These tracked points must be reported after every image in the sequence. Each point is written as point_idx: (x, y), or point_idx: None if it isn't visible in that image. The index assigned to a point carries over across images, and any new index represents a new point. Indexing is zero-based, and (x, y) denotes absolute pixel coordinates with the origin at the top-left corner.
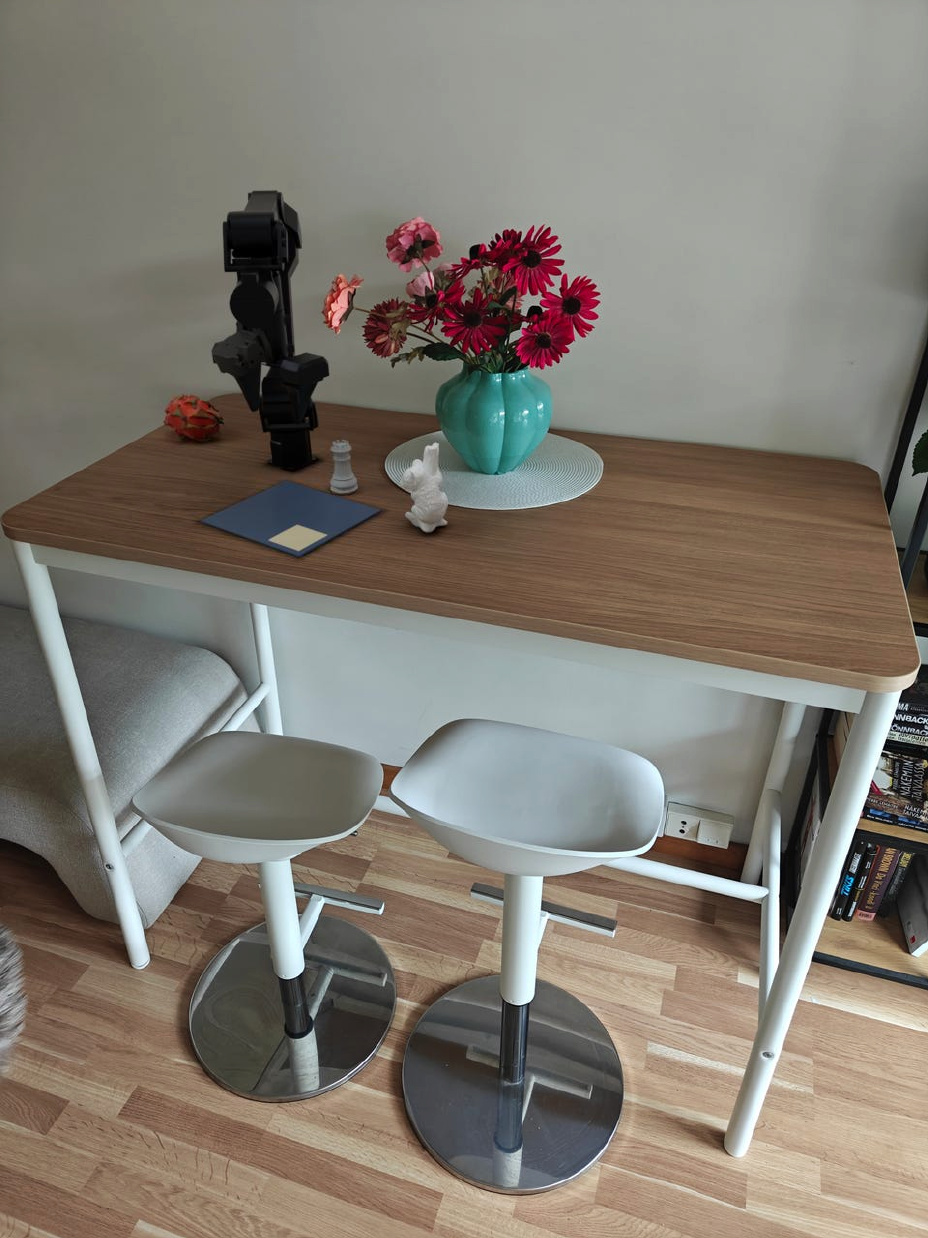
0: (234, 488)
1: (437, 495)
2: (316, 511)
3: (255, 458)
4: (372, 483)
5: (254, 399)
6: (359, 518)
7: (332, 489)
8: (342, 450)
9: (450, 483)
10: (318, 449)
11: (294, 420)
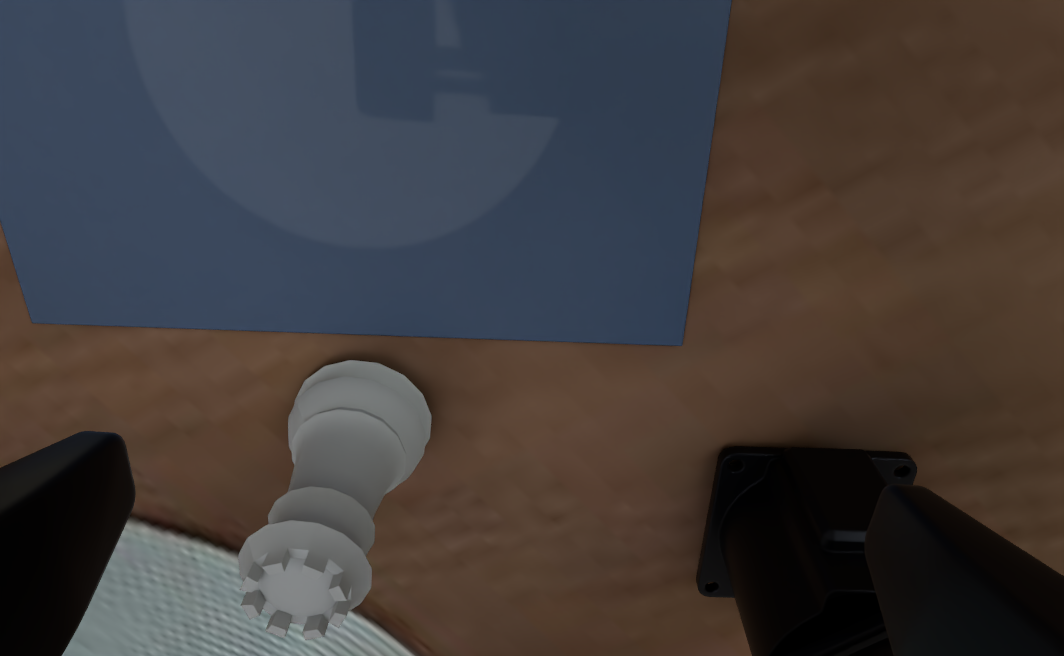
0: (900, 140)
1: None
2: (258, 136)
3: (1007, 471)
4: None
5: (945, 644)
6: (17, 192)
7: (382, 371)
8: (249, 547)
9: (73, 644)
10: None
11: (66, 454)
